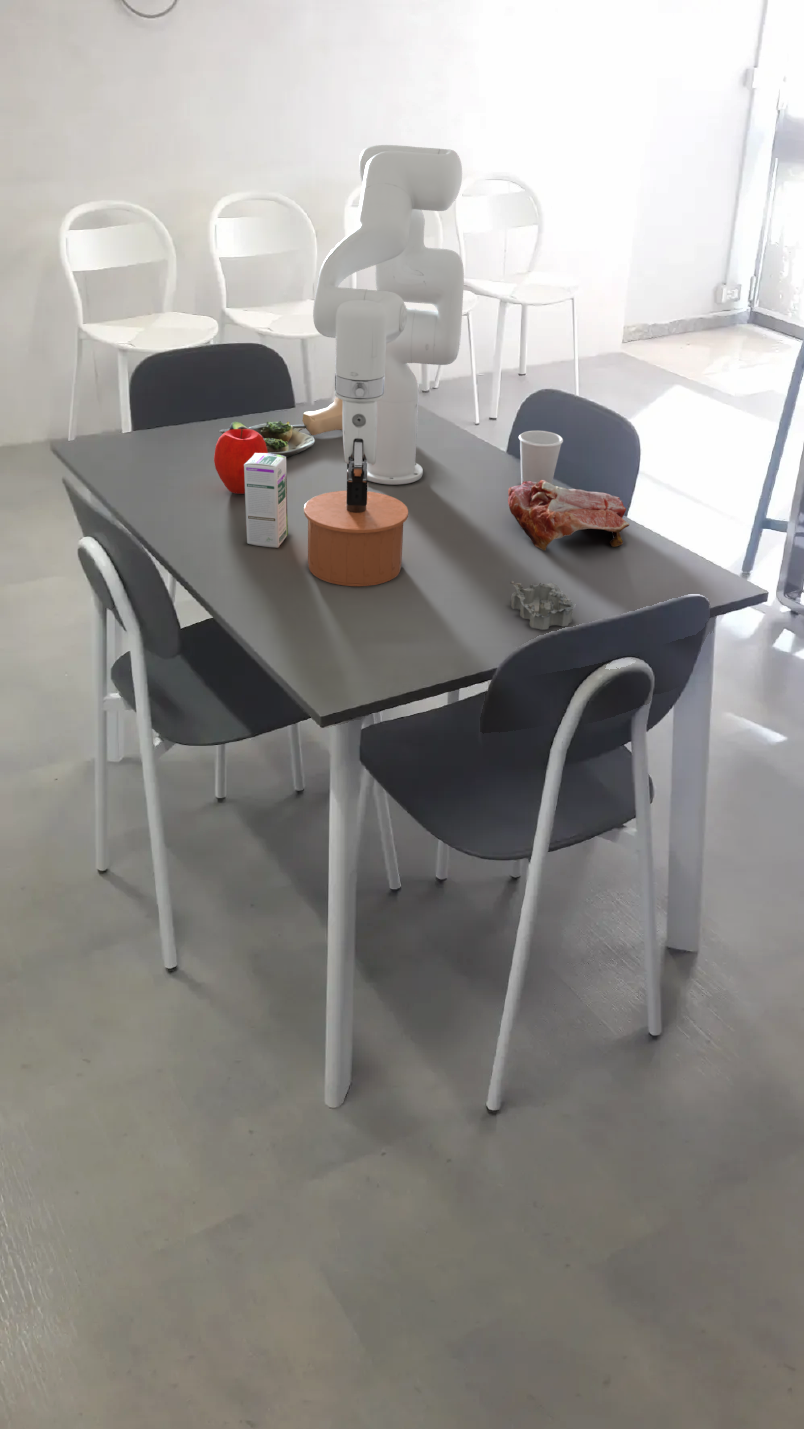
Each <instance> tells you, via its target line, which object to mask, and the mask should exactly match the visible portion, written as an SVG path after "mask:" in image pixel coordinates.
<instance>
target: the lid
mask: <svg viewBox="0 0 804 1429" xmlns="http://www.w3.org/2000/svg"><path fill="white" fill-rule="evenodd" d="M353 469H354V467H353V468H352V470H353ZM362 469H363V468H362ZM347 480H349V469H348V470H347V469H346V481H347ZM366 480H367V470H366ZM367 481H368V480H367ZM303 514H304V516H305V518H306V519H307V521H308V520H309V521H311V522H312V523H314V524H316V525H318V526H320V527H323V528H326V529H330V530H334V531H340V532H348V533H372V532H380V531H385V530H389V529H392V528H395V527H397V526H399V525H401V524H402V523H403V524H405V522H406V521H407V520H408V518H409V509H408V506H407V505H406V504H405V503H404V502H402V501H401V500H399V499H398V498H396V497H393V496H390V495H388V494H384V493H381V492H376V491H368V490H367V505H366V506H354V505H347V490H337V491H329V492H324V493H322V494H319V495H316V496H314V497H312V498H310V499H309V500H307V502H305V503H304V507H303Z"/></svg>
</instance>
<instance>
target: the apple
mask: <svg viewBox="0 0 804 1429" xmlns="http://www.w3.org/2000/svg"><path fill="white" fill-rule="evenodd" d="M254 453H268V451H267V447H266V443H265V441H264V439H263V437H262V436H261V435H260V434H259V433H258V432H256V431H254V430H251V429H231V430H228V431H226V432H225V433H224V434H221V435H220V436H219V437H218V439H217V441H216V443H215V448H214V455H213V463H214V467H215V470H216V472H217V475H218V477H219V479H220V480H221V482H222V483H223V485H224V486H225V488H226V489H227V490H228V491H229V492H230V493H232V494H236V495H239V494H240V495H243V494H244V495H245V477H244V464H245V463H246V462H247V461H248V460H249V459H250V458H251V457H252V456H253V455H254Z"/></svg>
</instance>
